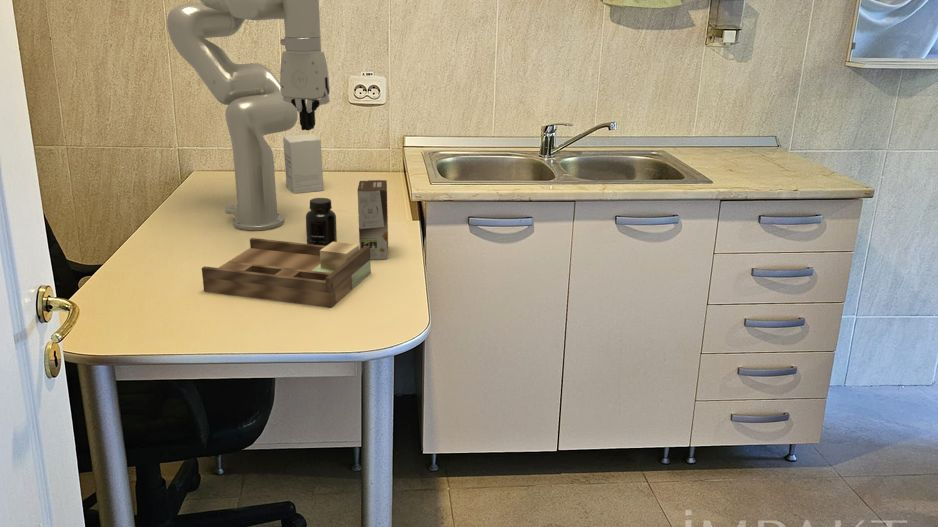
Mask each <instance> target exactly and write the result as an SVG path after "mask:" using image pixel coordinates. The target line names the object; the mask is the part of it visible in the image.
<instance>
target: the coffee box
mask: <svg viewBox="0 0 938 527" xmlns="http://www.w3.org/2000/svg"><path fill="white" fill-rule="evenodd" d="M387 183H388V182H387V179H386V180H384V179H383V180H381V179H378V180H377V179H376V180H374V179H371V180H359V182H358V186H357V206H358V207H357V209H358V237H359V250H361V249H362V248H363V247H365V246H370V260H387V259H388V253H389V223H388V222H389V216H388V212H389V211H388V209H389V208H388V184H387Z"/></svg>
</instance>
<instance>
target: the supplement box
mask: <svg viewBox="0 0 938 527" xmlns="http://www.w3.org/2000/svg"><path fill="white" fill-rule="evenodd" d="M282 140H283V141H282V143H283V153H284V166H285V168H284V170H285V181H286V182H285V183H286V185H285V186H286V187H287V189H289V190H290V191H291V193H292V194H295V195H296V194H303V193H311V192H313V193H314V192H320V191H324V190H325V189H324V177H323V176H324V174H323V173H324V171H323V158H322V155H323V154H322V143H321V142H322V141H321V139H320V138H318V137H317V136H316V135H315V134H313V133H309V134H295V135H283V136H282Z"/></svg>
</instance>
